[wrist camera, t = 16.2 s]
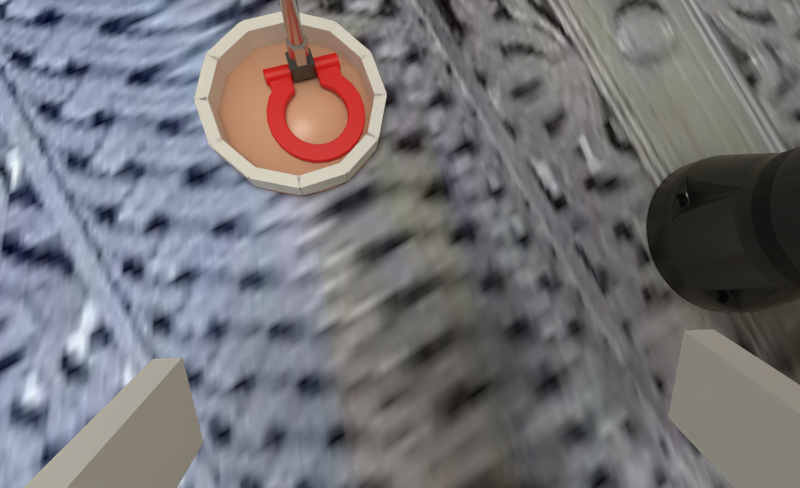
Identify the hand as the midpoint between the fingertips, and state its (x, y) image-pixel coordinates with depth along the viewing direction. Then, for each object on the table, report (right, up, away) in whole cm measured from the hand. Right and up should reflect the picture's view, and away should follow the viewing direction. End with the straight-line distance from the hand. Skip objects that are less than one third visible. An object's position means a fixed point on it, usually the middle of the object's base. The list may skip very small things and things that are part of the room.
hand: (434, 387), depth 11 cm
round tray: (-10, +16, +25) cm, 31 cm away
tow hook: (-8, +15, +25) cm, 30 cm away
